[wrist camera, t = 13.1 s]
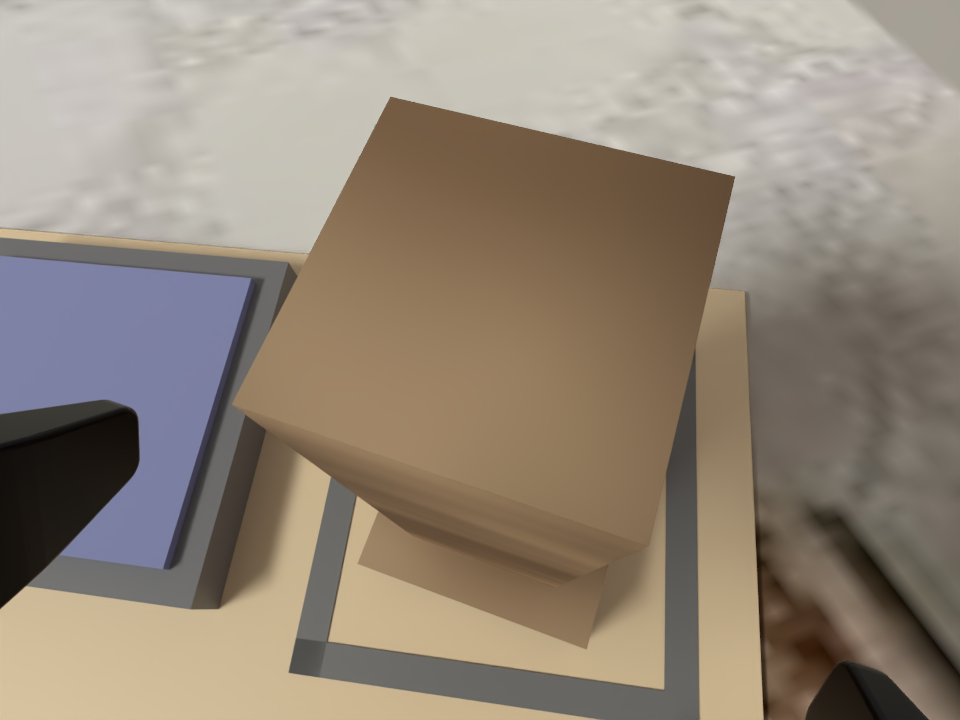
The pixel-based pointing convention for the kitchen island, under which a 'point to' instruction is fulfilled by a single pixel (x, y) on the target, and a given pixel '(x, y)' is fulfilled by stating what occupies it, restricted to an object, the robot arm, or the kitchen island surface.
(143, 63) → the kitchen island surface
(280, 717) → the board
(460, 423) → the walnut stamp
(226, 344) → the ink pad
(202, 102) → the kitchen island surface
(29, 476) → the robot arm
